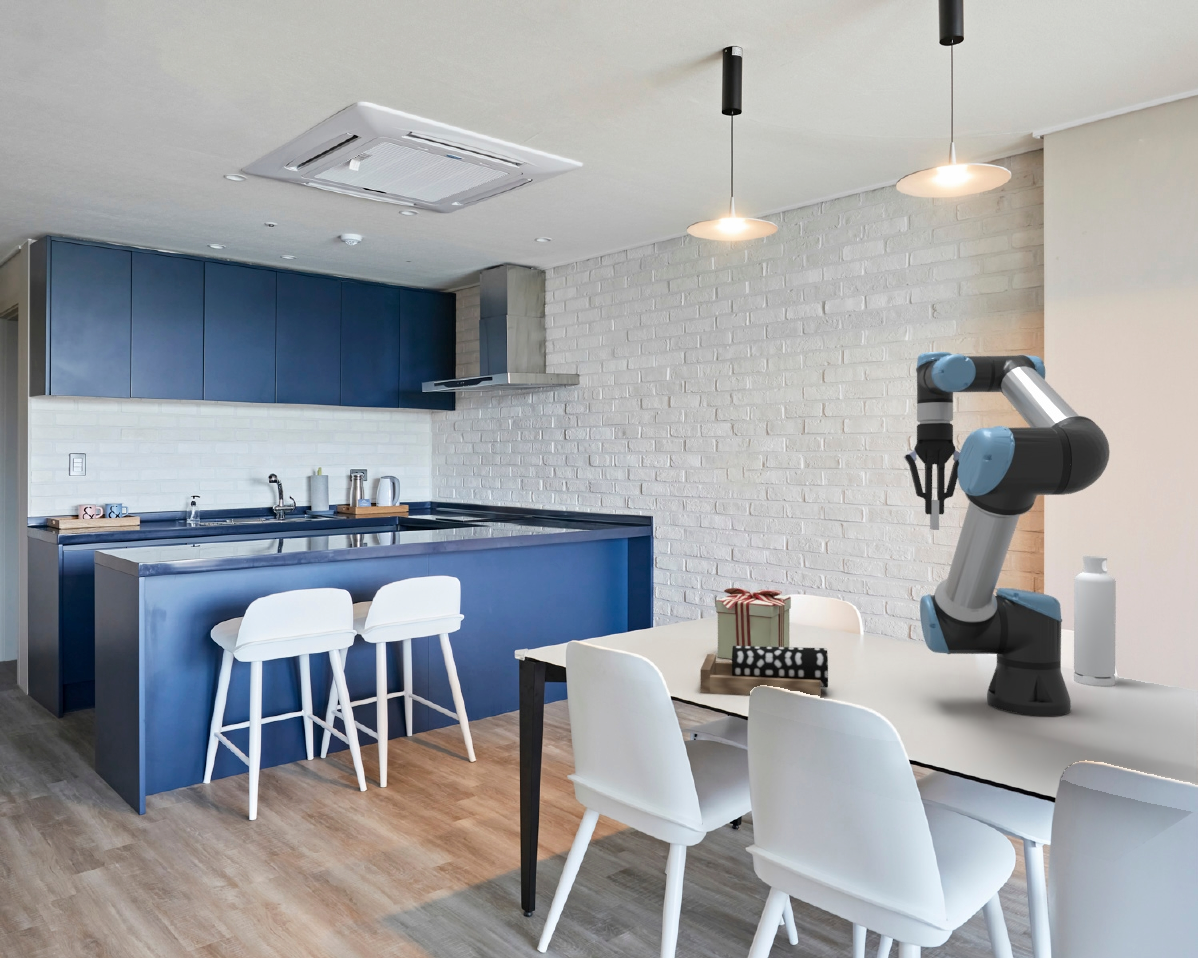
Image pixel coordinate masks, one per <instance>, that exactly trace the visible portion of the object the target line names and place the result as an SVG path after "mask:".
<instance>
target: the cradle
mask: <svg viewBox="0 0 1198 958" xmlns="http://www.w3.org/2000/svg"><path fill="white" fill-rule="evenodd" d="M699 669H700V675H699V676H700V693H702V694H715V695H716V694H719V695H737V696H739V695H740V696H750V695H749V694H750V691H751V690H752V689H753V688H754V687H757V686H760V685H767V686H773V687H780V688H784V689H788V690H790V691H800V692H803V693H806V694H810V695H818V696H821V697H822V695H821V694H822V693H821V692H822V690H821V689H822V688H821V680H812V679H791V678H769V677H748V676H732V661H729V660H728V661H726V660H717V654H715V653H707V654H706V656H705V658H704V661H703V663H702V665H701V668H699Z"/></svg>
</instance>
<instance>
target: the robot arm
mask: <svg viewBox="0 0 1198 958" xmlns="http://www.w3.org/2000/svg"><path fill="white" fill-rule="evenodd" d="M916 361H917V364H916V368H915V371H916V421H917V422H918V423H919V424H917V425H916V443H915V446H914V449H913V450H912V451H911V452H909V453H907V454H905V455H904V456H903V459H904V460H905V462H906V463H907V464H908V466H909V470H910V474H911V478H912V482H913V486H914V490H915V494H916V496H917V497H919V498H920V499H921V498H922V499H924V512H925V515H929V524H930V525H929V527H930V528H929V530H931V531H939V530H940V515H944V514H945V500H946V499H948V498H949V499H950V498H952V497H953V496H954V493H955V489H956V485H957V483H958V484H959V487H960V488H961V491H963V492H964V494H965V497H966V499H967V501H969V502H968V506H967V510H966V513H965V517H964V520H963V524H962V527H961V530H960V533H959V538H958V540H957V543H956V548H955V551H954V554H953V558H952V561H951V564H950V568H949V571H948V575H947V579H944V580H942V581H941V582H940V583H938V584H937V586H936V588H935V591H934V594H931V593H930V594H925V595H922V596H921V598H920V600H919V601H920V602H919V616H920V624H921V625H920V626H921V631H922V636H923V639H924V642H925V645H926V647H927V648H928V649H929V650H930V651H931V652H933V653H936V654H947V655H953V654H954V655H955V654H956V655H969V654H971V655H996V666H995V669H994V672H993V675H992V677H991V680H990V683H989V686H988V689H987V692H986V693H987V694H986V702H987V704H988V705H989V706H991V707H992V708H995V709H997V710H1001V711H1003V712H1008V713H1012V714H1020V715H1027V716H1036V717H1037V716H1038V717H1055V716H1063V715H1067V714H1069V713H1071V706H1072V705H1071V704H1072V703H1071V696H1070V693H1069V691H1068V688H1067V685H1066V683H1065V679H1064V676H1063V674H1062V666H1061V665H1062V664H1061V662H1062V661H1061V659H1062V657H1061V656H1062V622H1063V619H1062V613H1061V612H1062V611H1061V603H1060V602H1059V601H1060V600H1058V599H1057V598H1056V597H1054V596H1052V595H1049V594H1044V593H1040V592H1036V591H1035V592H1034V591H1031V590H1029V591H1028V590H1025V589H1019V588H1018V589H1017V588H1009V587H998V589H997V590H996V592H995V589H996V586H997V583H998V580H999V577H1000V574H1001V572H1002V571H1001V570H1002V568H1003V565H1004V563H1005V559H1006V556H1007V554H1008V551H1009V548H1010V546H1011V542H1012V538H1013V536H1014V533H1015V530H1016V528H1017V524H1018V522H1019V518H1020V516H1022V515H1024V514H1026V513H1028V512H1029V511H1031V510H1032V508H1033V507H1034V505H1035V502H1036V499H1037V497H1038V496H1049V495H1050V496H1054V495H1055V496H1057V495H1058V496H1059V495H1060V496H1064V495H1071V494H1075V493H1077V492H1080V491H1083V490H1085V489H1087V488H1089V487H1090V486H1091V485H1093V484H1094V483H1095V482H1097V480H1098V479H1100V477H1101V476H1102V474H1103V473H1104V472H1105V470H1106V468H1107V466H1108V463H1109V460H1110V453H1111V452H1110V443H1109V441H1108V439H1107V436H1106V434H1105V432H1104V431H1103V430H1102V428H1101V427H1100V426H1099V425H1098V424H1096V422H1095V421H1094V420H1092V419H1091V418H1089V417H1087V416H1083V415H1079V414H1078V413H1077V412H1076V411H1075V410H1074V409H1073V408H1072V406H1070V404H1069V403H1067V402H1066V401H1065V399H1064V398H1062V396H1061V395H1060V394H1059V393H1058V392H1057V391H1056V390H1055V389H1054V388H1053V387H1052V386H1051V385H1050V384H1049V383H1048V382H1047V381H1046V367H1045V365H1044V361H1043V359H1042V358H1041V357H1039V356H1036V355H1026V354H1017V355H973V356H972V355H971V356H970V355H964V354H960V353H959V354H957V353H955V354H952V353H951V352H949V351H930V352H929V351H928V352H924V353H921V354H919V355H918V357H917V360H916ZM954 393H1002V395H1003V396H1004V397H1005V398H1006V399H1007V400H1008V402H1009V403H1010V404H1011V405H1012V406H1013V408H1014V409H1015V410H1016V411H1017V412H1018V414H1019V415H1020V417H1022V419H1023V420H1024V422H1026V423H1027V424H1028V427H1026V426H1025V427H1024V426H1022V427H1007V426H1003V425H997V426H993V427H981V428H977V429H976V430H974V431H972V432H971V433H970V434H969V435H968V436H967V437H966V438H965V440H964V442H963V444H962V446H961V449H960V451H958V450H957V449H956V446H955V444H954V424H953V423H951V422H952V421H954ZM952 456H953V458H952ZM917 457H918V458H919V459H920V461H921V462H922V463H923V464H924V491H923V487H922V483H921V479H920V475H919V471H918V467H917V463H916V461H917ZM951 458H952V460H953V464H952V467H951V471H950V474H949V479H948V484H947V487H946V483H945V477H946V476H945V472H946V471H945V470H946V469H945V468H946V463H947V462H948V461H949V460H950V459H951ZM933 465H936V495H937V496H936V497H937V499H933ZM957 481H958V482H957ZM945 488H946V489H945ZM945 490H946V491H945ZM994 592H995V594H994Z"/></svg>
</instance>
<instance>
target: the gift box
mask: <svg viewBox="0 0 1198 958" xmlns="http://www.w3.org/2000/svg"><path fill="white" fill-rule="evenodd" d="M723 592H724V593H726V594H728V595H727V596H724V597H723V598H722V597H720V598H719V599H717V600H716V602H715V605H716V606H715V612H716V613H717V658H719V659H726V660H732V648H733V646H762V647H790V609H791V607H792V606H791V605H792V597H791V596H790V595H789V596H788V595H782V594H783V592H782V591H781V590H777V589H770V590H768V589H767V590H766V589H758V590H757V591H756V592H755V591H754V592H750V591H748V589H745V588H737V587H734V588H733V587H729V588H726V589H724V590H723Z"/></svg>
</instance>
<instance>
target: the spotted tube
mask: <svg viewBox="0 0 1198 958" xmlns="http://www.w3.org/2000/svg"><path fill="white" fill-rule="evenodd" d="M828 654H829V653H828V648H827V647H797V646H796V647H794V646H789V647H762V646H733V648H732V659H731V662H732V676H748V677H769V678H791V679H812V680H821V689H822V688H824V689H825V688H826V689H828V687H829V657H828Z"/></svg>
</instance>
